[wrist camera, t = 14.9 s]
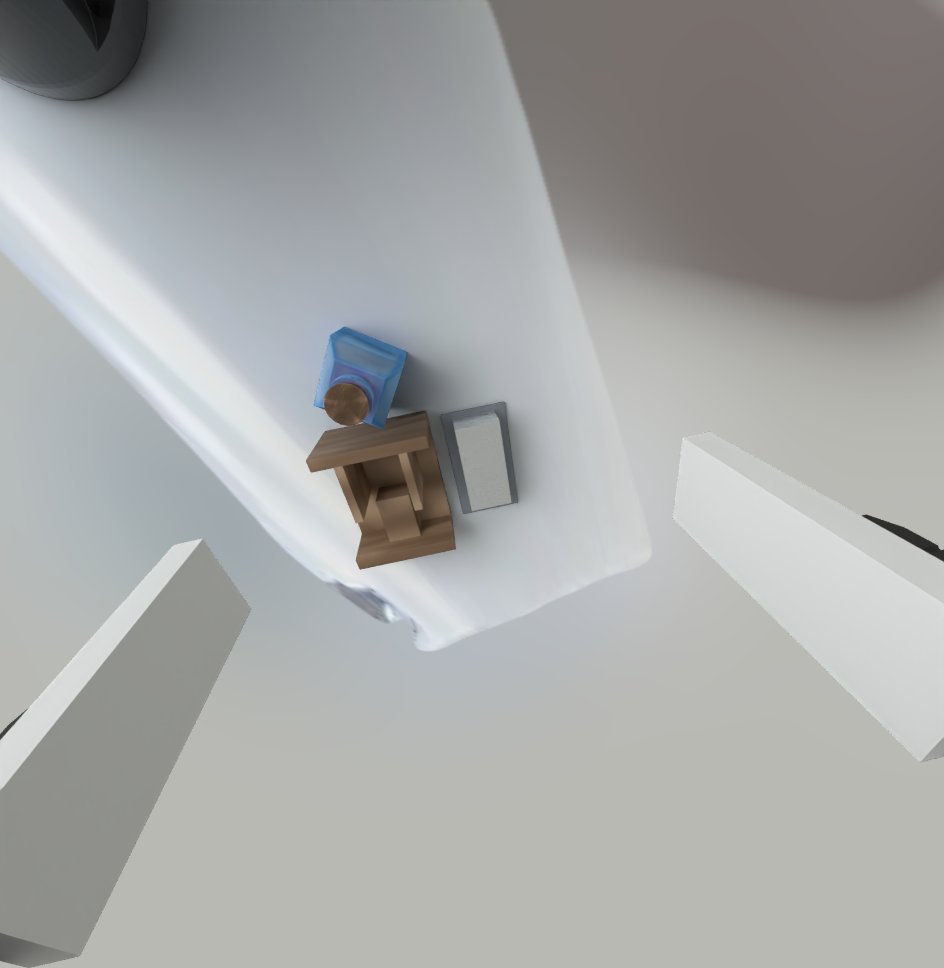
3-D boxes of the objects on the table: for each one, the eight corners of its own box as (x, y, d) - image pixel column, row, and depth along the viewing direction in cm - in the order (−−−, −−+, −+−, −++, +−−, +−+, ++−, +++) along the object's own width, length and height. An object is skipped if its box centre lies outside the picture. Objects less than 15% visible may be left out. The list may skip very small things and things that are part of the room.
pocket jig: (324, 431, 40) (305, 460, 34) (425, 410, 40) (426, 436, 34) (366, 537, 47) (357, 578, 41) (452, 519, 47) (456, 557, 41)
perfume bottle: (388, 408, 40) (376, 455, 29) (329, 387, 38) (293, 428, 28) (407, 352, 37) (400, 380, 27) (344, 326, 36) (311, 346, 25)
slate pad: (440, 414, 41) (440, 415, 40) (503, 401, 41) (504, 402, 40) (462, 512, 47) (463, 514, 47) (517, 500, 47) (517, 502, 47)
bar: (452, 418, 41) (454, 429, 38) (493, 409, 41) (499, 420, 38) (468, 495, 46) (472, 511, 43) (505, 487, 46) (511, 502, 43)
